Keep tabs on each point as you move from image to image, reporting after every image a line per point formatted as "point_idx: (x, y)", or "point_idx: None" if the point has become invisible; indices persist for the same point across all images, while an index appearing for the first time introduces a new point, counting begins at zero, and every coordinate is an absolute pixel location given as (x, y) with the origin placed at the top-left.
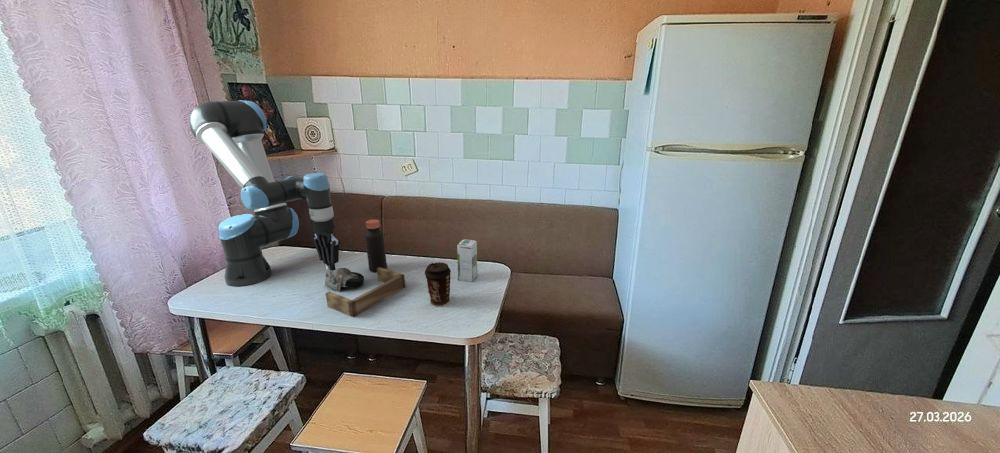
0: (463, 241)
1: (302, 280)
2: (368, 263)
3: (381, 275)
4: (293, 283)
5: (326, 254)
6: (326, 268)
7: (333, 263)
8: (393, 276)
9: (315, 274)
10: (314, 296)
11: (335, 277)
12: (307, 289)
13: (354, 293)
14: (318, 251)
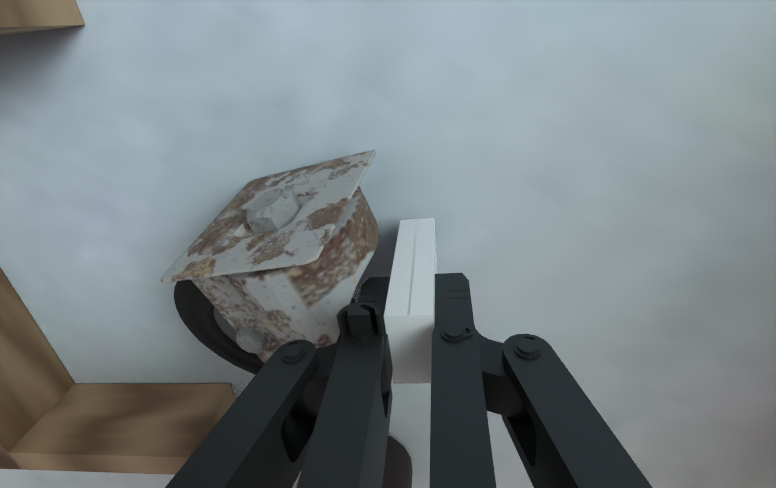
0: None
1: (722, 112)
2: (386, 478)
3: (173, 420)
4: (767, 16)
5: (357, 448)
6: (420, 284)
7: (277, 357)
8: (61, 436)
9: (697, 242)
10: (325, 7)
11: (239, 238)
12: (508, 40)
13: (161, 226)
14: (588, 463)
